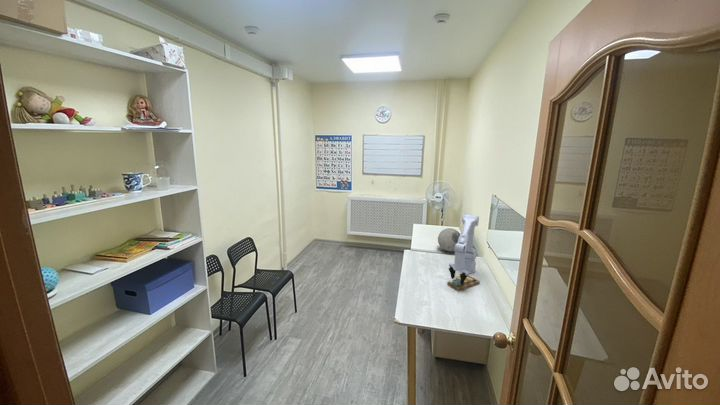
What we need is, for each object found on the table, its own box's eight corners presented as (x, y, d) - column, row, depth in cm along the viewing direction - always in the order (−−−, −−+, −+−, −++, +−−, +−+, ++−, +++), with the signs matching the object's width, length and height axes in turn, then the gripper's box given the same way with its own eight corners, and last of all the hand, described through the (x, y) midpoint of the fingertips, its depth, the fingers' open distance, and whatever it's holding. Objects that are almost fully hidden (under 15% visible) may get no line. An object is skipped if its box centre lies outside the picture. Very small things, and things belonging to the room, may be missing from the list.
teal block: (456, 284, 180) (456, 278, 179) (461, 287, 176) (461, 281, 176) (451, 285, 178) (452, 280, 177) (456, 288, 175) (457, 282, 174)
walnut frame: (468, 278, 188) (468, 275, 188) (479, 284, 180) (479, 281, 180) (447, 285, 179) (447, 282, 178) (458, 291, 171) (458, 288, 170)
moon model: (436, 253, 229) (438, 231, 225) (437, 245, 248) (438, 224, 244) (461, 256, 224) (464, 233, 220) (460, 248, 243) (462, 226, 238)
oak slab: (463, 278, 189) (463, 274, 188) (473, 283, 182) (473, 279, 181) (455, 281, 185) (455, 277, 184) (464, 286, 178) (465, 282, 177)
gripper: (446, 258, 178) (444, 277, 181) (464, 267, 165) (462, 287, 168) (453, 256, 181) (452, 275, 184) (472, 264, 169) (469, 284, 172)
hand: (457, 280), depth 176 cm, fingers open, 7 cm apart
